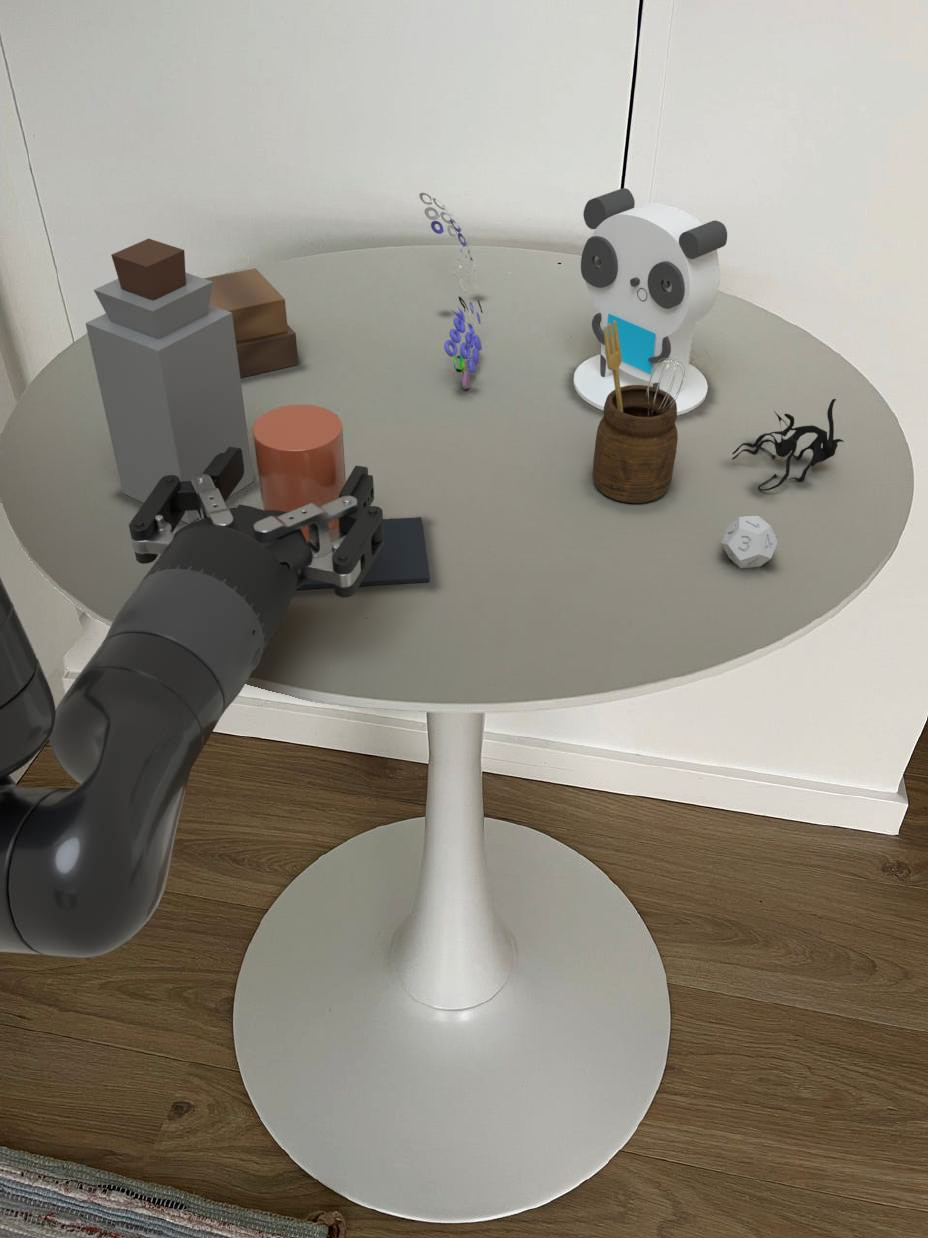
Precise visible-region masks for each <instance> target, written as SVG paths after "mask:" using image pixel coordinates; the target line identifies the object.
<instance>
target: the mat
mask: <svg viewBox="0 0 928 1238" xmlns="http://www.w3.org/2000/svg"><path fill="white" fill-rule="evenodd" d="M383 533H384V546H383V547H382V549H381V551H380V552H379V554H378V556H377V557H376V559H375V561H374V562H373V564H372V565H371V567H370V569H369V570H368V572H367V574H366V575H365V577H364V579H363V580H362V582H361V584H360V585H359V587H365V586H378V585H379V586H382V585H383V586H384V585H399V584H414V583H415V584H417V583H418V584H419V583H430V571H429V566H428V558H427V557H428V556H427V551H426V543H425V536H424V529H423V521H422V517H421V516H420V517H419V516H418V517H417V516H416V517H400V518H399V517H398V518H383ZM330 588H334V584H332V583H327V582H322V581H317V580H313V579H310V580H309V581H308V582H307V583H306V584H304V585H302V586H301V587H299V588H298V589H297V590H311V589H312V590H313V589H314V590H315V589H330Z"/></svg>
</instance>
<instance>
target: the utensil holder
mask: <svg viewBox="0 0 928 1238" xmlns="http://www.w3.org/2000/svg"><path fill="white" fill-rule="evenodd" d="M608 330H609V337H608V331H607V327H606V326H605V327H604V339H605V349H606V359H607V367H608V369H610V370H612V371H613V376H614V384H615V390H613V391H612V392H611V393H610V394H609V395H608V396H607V399H606V402H605V405H604V411H603V410H602V411H603V416H602V418H601V419H600V421H599V423H598V425H597V431H596V435H595V444H594V454H593V461H592V462H593V463H592V477H593V479H592V480H593V483H594V485H595V487H596V488H597V490H598V491H599V492H600V493H601V494H603V495H604V496H606V497H608V498H610V499H611V500H614V501H617V502H622V503H628V504H644V503H650V502H652V501H655V500H657V499H659V498H661V497H662V496H664V495H665V494H666V492H667V491H668V490H669V488H670V486H671V482H672V479H673V473H674V468H675V461H676V456H677V455H676V454H677V450H678V449H677V447H678V439H679V438H678V437H679V436H678V435H679V434H678V428H677V425H676V421H677V418H678V416H677V405H676V400H674V398H675V397H676V396H675V397H674V398H673V397H672V396H671V395H670V393H669V394H668V392H665V391H663V390H661V389H658V387H659V385H658V386H657V388H655V387H651V386H649V385H648V386H645V385H629V386H623V387H620V381H619V373H618V369H619V366H620V364H621V362H622V357H621V350H620V343H619V337H618V330H617V323H616V321H615V320H614V321H613V330H612V324H611V323H609V324H608ZM613 331H614V337H613ZM609 340H610V344H609ZM614 342H615V343H614ZM669 358H672V357H669ZM669 358H663V359H667V360H668V359H669ZM672 359H673V358H672ZM672 359H670V360H668V361H672V362H673V361H674V365H675V362H676V359H675V360H672ZM661 360H662V359H661ZM661 360H659V361H661ZM667 360H666V361H665V364H666V362H667ZM677 360H678V359H677ZM659 361H658V362H659ZM658 362H657V363H658ZM672 362H671V363H672ZM677 362H679V361H677ZM677 362H676V363H677ZM663 363H664V362H663ZM671 363H670V364H671ZM680 363H681V362H680ZM661 364H662V363H661ZM661 364H660V365H661ZM670 364H669V365H670ZM681 364H682V363H681ZM656 365H657V364H656ZM656 365H655V367H656ZM669 365H668V366H669ZM678 365H679V364H678V363H677V367H678ZM682 365H683V364H682ZM658 366H659V365H658ZM658 366H657V367H658ZM664 366H665V365H664ZM679 366H680V365H679ZM655 367H654V369H655ZM683 367H684V365H683ZM667 368H668V367H667ZM667 368H666V369H667ZM680 368H681V366H680ZM656 369H657V368H656ZM656 369H655V370H656ZM663 369H664V367H663ZM655 370H653V372H652V375H651V378H650V381H651V379H652V376H653V374H654V372H655ZM676 370H677V368H676ZM681 370H682V368H681ZM665 371H666V370H665ZM665 371H664V373H665ZM662 372H663V370H662ZM664 373H663V375H664ZM675 373H676V371H675ZM682 373H683V371H682ZM661 375H662V373H661ZM661 375H660V377H661ZM663 375H662V377H663ZM684 375H685V368H684ZM662 377H661V379H662ZM674 378H675V374H674V377H673V379H674ZM683 378H684V376H683ZM673 379H672V381H673V383H674V380H673ZM659 381H660V382H661V380H660V378H659ZM660 382H658V384H660ZM682 383H683V379H682V382H681V385H680V388H679V389H681V386H682ZM649 384H650V382H649ZM671 384H672V382H671ZM670 386H671V385H670ZM672 386H673V384H672ZM669 389H670V387H669ZM669 389H668V391H669ZM671 389H672V387H671ZM670 392H671V390H670ZM678 392H680V390H678ZM678 392H677V394H678V395H679V393H678ZM677 394H676V395H677ZM678 395H677V397H678ZM676 399H677V398H676Z"/></svg>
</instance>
